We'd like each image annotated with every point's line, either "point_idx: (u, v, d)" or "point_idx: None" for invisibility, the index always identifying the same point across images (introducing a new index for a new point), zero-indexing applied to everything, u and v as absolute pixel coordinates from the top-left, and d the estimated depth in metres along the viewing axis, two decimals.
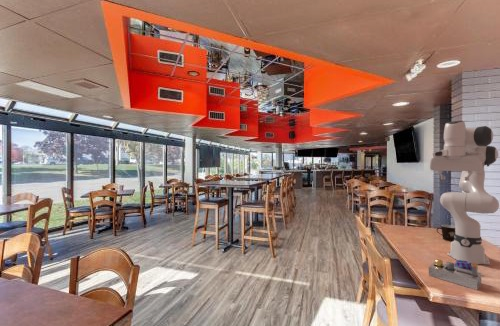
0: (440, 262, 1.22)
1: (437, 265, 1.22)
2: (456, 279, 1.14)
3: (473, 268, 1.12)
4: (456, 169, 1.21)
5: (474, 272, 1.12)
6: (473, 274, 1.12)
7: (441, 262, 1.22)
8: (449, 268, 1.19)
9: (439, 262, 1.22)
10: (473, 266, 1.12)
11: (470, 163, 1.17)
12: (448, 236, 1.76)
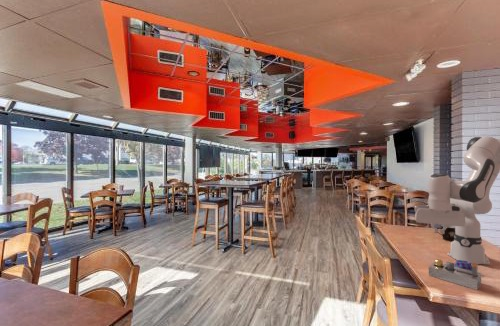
0: (440, 262, 1.22)
1: (437, 265, 1.22)
2: (456, 279, 1.14)
3: (473, 268, 1.12)
4: None
5: (474, 272, 1.12)
6: (473, 274, 1.12)
7: (441, 262, 1.22)
8: (449, 268, 1.19)
9: (439, 262, 1.22)
10: (473, 266, 1.12)
11: None
12: (448, 236, 1.76)
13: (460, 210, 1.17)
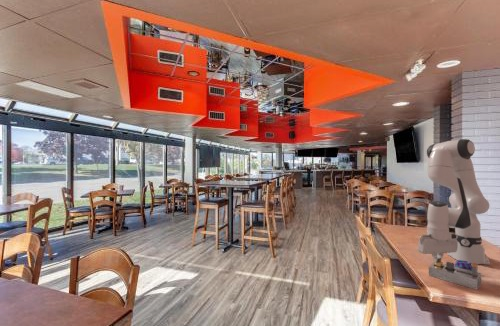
0: (440, 263, 1.22)
1: (437, 266, 1.22)
2: (456, 279, 1.14)
3: (473, 268, 1.12)
4: None
5: (474, 272, 1.12)
6: (473, 274, 1.12)
7: (441, 263, 1.22)
8: (449, 268, 1.19)
9: (439, 263, 1.22)
10: (473, 266, 1.12)
11: None
12: None
13: (456, 237, 1.22)
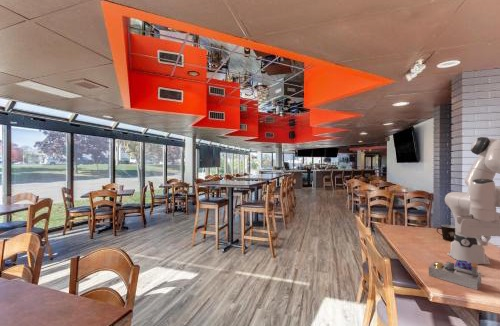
0: (440, 265, 1.22)
1: None
2: (456, 279, 1.14)
3: (473, 268, 1.12)
4: None
5: (474, 272, 1.12)
6: (473, 274, 1.12)
7: (441, 265, 1.22)
8: (449, 268, 1.19)
9: (439, 265, 1.22)
10: (473, 266, 1.12)
11: None
12: (448, 236, 1.76)
13: None
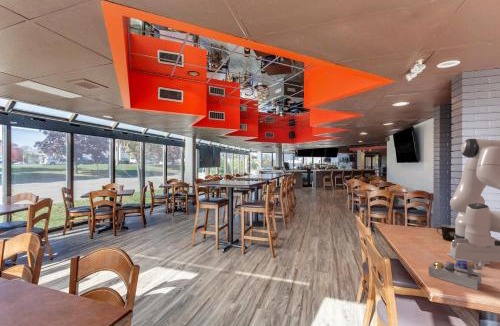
0: (440, 265, 1.22)
1: None
2: (456, 279, 1.14)
3: (468, 267, 1.13)
4: None
5: (469, 271, 1.13)
6: (468, 273, 1.13)
7: (441, 265, 1.22)
8: (449, 268, 1.19)
9: (439, 265, 1.22)
10: (468, 265, 1.13)
11: None
12: (448, 236, 1.76)
13: None
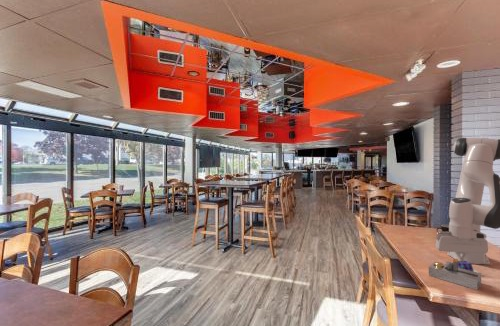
0: (440, 265, 1.22)
1: None
2: (456, 279, 1.14)
3: (454, 263, 1.17)
4: None
5: (455, 267, 1.17)
6: (454, 269, 1.17)
7: (441, 265, 1.22)
8: (449, 268, 1.19)
9: (439, 265, 1.22)
10: (454, 261, 1.17)
11: None
12: None
13: (484, 237, 1.12)
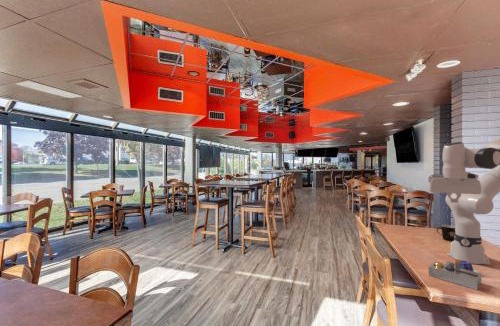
0: (440, 265, 1.22)
1: None
2: (456, 279, 1.14)
3: (456, 264, 1.16)
4: None
5: (457, 268, 1.16)
6: (456, 269, 1.16)
7: (441, 265, 1.22)
8: (449, 268, 1.19)
9: (439, 265, 1.22)
10: (456, 262, 1.16)
11: None
12: (448, 236, 1.76)
13: (476, 177, 1.15)
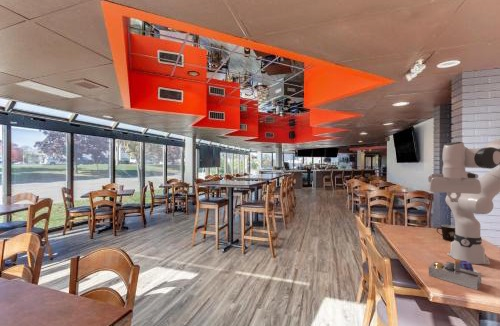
0: (440, 265, 1.22)
1: None
2: (456, 279, 1.14)
3: (456, 264, 1.16)
4: None
5: (457, 268, 1.16)
6: (456, 269, 1.16)
7: (441, 265, 1.22)
8: (449, 268, 1.19)
9: (439, 265, 1.22)
10: (456, 262, 1.16)
11: None
12: (448, 236, 1.76)
13: (476, 177, 1.15)
